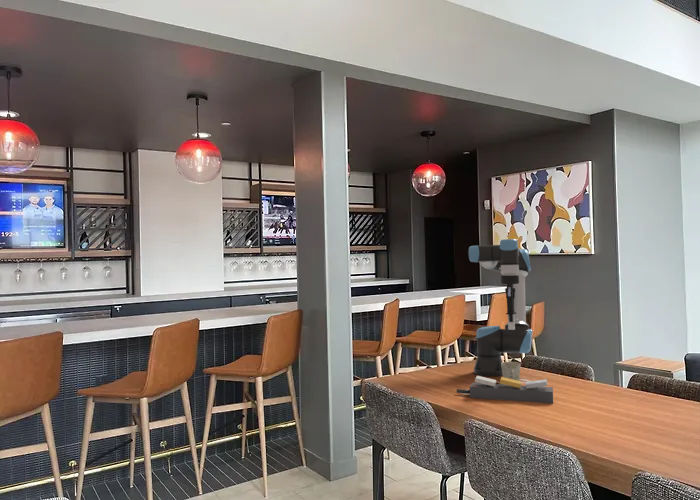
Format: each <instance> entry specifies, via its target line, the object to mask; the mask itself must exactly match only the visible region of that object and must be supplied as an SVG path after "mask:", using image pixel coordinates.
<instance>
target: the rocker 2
mask: <svg viewBox="0 0 700 500" xmlns="http://www.w3.org/2000/svg"><path fill="white" fill-rule="evenodd" d="M499 384H505V385H509V386H513V387H518V388H520V387H521V385H522V381H521V380H519V381H517V380H513V379H509V378H504V377H503V376H501V378H500V380H499Z"/></svg>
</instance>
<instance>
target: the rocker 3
mask: <svg viewBox="0 0 700 500" xmlns="http://www.w3.org/2000/svg"><path fill="white" fill-rule="evenodd" d="M525 386H526V389H527V388H535V387H548V380H547V379H546V378H544V379H537V380H536V379H535V380H531V381H526V382H525Z"/></svg>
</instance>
